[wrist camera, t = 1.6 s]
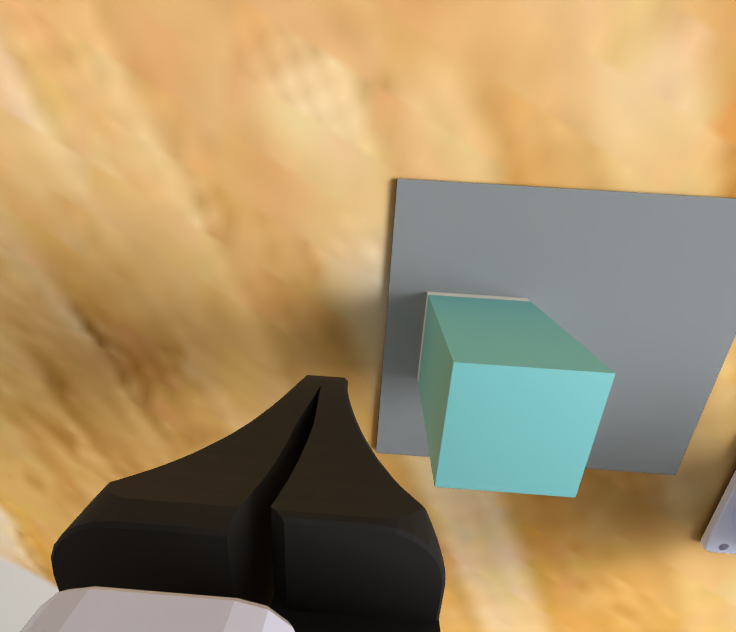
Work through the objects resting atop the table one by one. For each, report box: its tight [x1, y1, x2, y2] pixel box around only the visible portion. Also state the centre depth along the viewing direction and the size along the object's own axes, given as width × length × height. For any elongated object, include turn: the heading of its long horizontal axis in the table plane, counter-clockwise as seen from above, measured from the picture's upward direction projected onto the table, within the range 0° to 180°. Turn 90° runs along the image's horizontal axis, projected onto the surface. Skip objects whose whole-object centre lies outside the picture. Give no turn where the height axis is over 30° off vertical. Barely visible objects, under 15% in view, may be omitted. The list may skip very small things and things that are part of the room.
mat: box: [376, 179, 736, 475], centre depth 18 cm, size 16×14×1 cm
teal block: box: [417, 292, 616, 497], centre depth 15 cm, size 4×4×7 cm
